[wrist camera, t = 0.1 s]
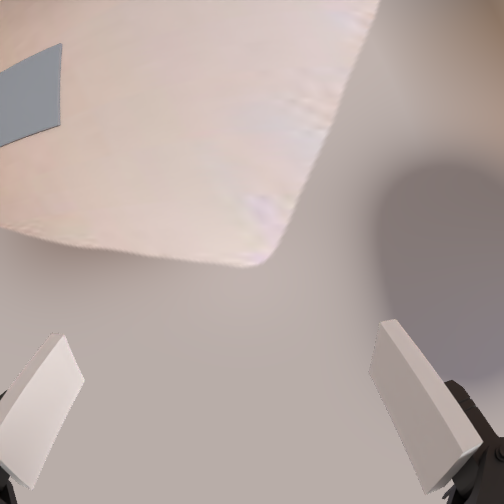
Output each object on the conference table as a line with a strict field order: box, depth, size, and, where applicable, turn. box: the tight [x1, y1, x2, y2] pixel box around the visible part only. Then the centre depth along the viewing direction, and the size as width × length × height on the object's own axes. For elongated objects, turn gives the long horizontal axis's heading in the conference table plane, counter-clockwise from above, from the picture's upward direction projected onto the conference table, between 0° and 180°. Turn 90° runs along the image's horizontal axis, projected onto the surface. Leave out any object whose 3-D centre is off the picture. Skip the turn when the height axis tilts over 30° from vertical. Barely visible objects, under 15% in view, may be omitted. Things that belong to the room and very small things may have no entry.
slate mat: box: [0, 43, 62, 147], centre depth 29 cm, size 13×16×1 cm
